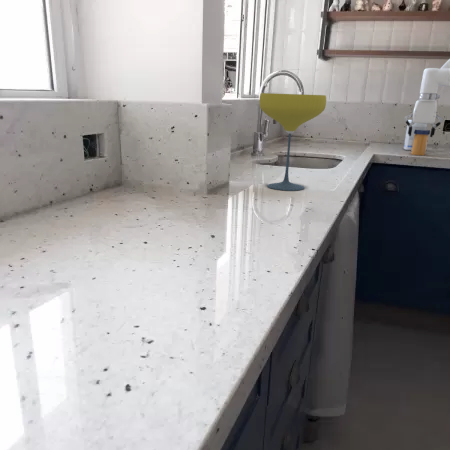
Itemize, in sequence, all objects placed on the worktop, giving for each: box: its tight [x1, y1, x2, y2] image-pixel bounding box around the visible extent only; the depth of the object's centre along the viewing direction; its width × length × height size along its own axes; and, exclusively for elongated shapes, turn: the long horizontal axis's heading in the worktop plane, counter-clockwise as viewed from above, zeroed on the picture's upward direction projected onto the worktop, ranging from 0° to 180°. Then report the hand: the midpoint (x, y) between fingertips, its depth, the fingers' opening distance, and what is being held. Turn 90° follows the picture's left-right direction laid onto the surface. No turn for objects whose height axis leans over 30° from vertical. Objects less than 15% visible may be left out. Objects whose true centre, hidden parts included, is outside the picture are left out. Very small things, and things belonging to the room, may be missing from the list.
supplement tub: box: [403, 119, 428, 151], centre depth 250 cm, size 10×10×15 cm
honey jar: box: [410, 134, 430, 156], centre depth 232 cm, size 6×6×11 cm
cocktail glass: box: [258, 92, 327, 192], centre depth 136 cm, size 18×18×25 cm
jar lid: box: [414, 129, 431, 136], centre depth 230 cm, size 7×7×2 cm
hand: (420, 136), depth 230 cm, fingers open, 9 cm apart
